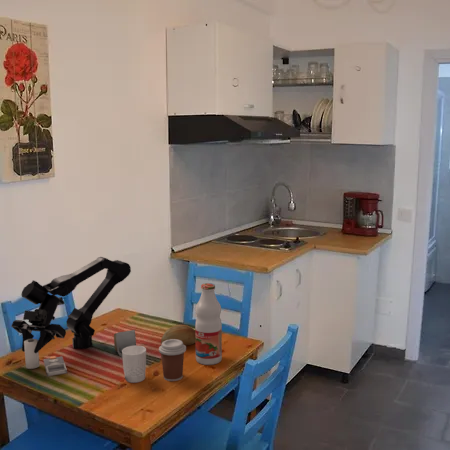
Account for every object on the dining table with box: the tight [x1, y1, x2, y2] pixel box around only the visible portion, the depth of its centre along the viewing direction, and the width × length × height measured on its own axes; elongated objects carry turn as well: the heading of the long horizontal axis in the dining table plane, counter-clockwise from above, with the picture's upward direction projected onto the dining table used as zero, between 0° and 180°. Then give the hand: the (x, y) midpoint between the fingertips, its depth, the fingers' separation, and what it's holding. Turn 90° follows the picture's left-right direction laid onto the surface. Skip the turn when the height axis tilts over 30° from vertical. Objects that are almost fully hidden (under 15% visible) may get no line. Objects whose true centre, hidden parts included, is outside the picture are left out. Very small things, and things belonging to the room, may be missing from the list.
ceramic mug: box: [113, 329, 137, 358], centre depth 202 cm, size 11×8×8 cm
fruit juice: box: [194, 282, 223, 366], centre depth 193 cm, size 9×9×28 cm
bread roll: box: [160, 324, 196, 346], centre depth 208 cm, size 10×15×8 cm, turn 117°
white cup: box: [121, 345, 147, 384], centre depth 180 cm, size 8×8×10 cm
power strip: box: [43, 355, 68, 377], centre depth 187 cm, size 15×6×2 cm, turn 23°
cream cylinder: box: [24, 338, 40, 370], centre depth 185 cm, size 4×4×9 cm
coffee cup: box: [158, 339, 187, 382], centre depth 181 cm, size 9×9×12 cm
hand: (29, 352), depth 183 cm, fingers closed on cream cylinder, 4 cm apart
